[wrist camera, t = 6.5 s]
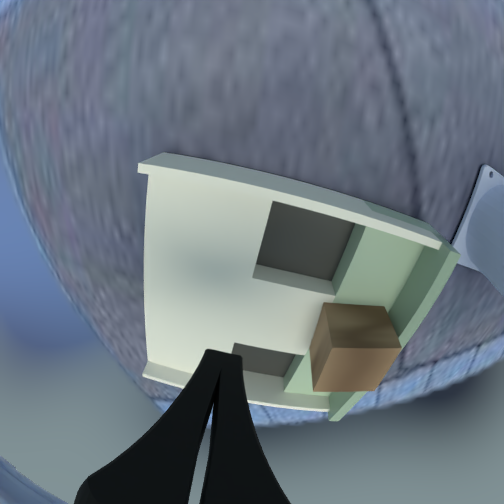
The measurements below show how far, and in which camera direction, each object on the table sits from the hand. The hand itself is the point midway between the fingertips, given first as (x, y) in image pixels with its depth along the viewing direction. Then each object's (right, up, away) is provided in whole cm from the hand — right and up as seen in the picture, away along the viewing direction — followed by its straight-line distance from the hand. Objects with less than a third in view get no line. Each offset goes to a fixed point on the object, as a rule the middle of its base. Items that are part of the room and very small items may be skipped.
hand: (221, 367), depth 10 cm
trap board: (+3, +1, +10) cm, 10 cm away
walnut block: (+8, -1, +8) cm, 11 cm away
